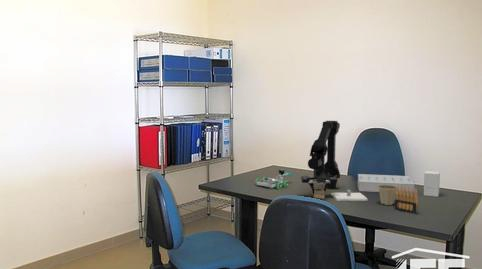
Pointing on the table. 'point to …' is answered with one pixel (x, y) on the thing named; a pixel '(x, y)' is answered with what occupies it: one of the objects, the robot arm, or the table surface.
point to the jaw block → (319, 193)
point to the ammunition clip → (406, 200)
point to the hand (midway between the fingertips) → (318, 194)
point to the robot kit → (274, 180)
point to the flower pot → (387, 194)
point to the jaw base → (349, 196)
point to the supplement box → (431, 183)
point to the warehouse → (384, 182)
